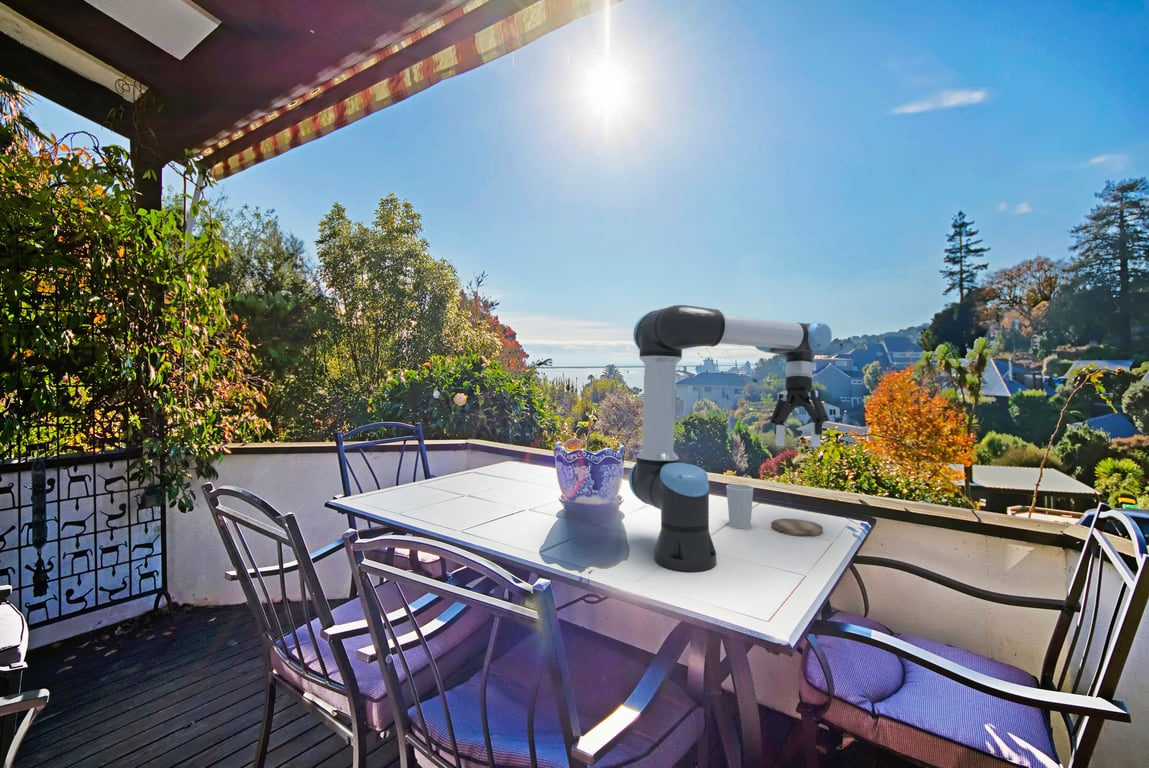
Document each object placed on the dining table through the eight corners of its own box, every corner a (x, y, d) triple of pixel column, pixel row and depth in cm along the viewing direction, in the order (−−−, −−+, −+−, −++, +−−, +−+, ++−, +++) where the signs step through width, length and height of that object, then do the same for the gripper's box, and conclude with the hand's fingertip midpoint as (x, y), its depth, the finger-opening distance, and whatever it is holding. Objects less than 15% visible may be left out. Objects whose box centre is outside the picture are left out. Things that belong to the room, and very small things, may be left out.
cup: (748, 531, 145) (748, 490, 145) (722, 526, 149) (722, 487, 149) (757, 524, 151) (756, 486, 151) (731, 520, 156) (731, 483, 156)
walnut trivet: (792, 538, 137) (792, 533, 137) (761, 524, 151) (761, 520, 151) (833, 534, 141) (833, 529, 141) (800, 520, 154) (800, 516, 154)
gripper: (843, 373, 140) (842, 447, 136) (778, 383, 163) (776, 446, 159) (823, 369, 137) (821, 445, 134) (760, 380, 160) (757, 444, 157)
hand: (796, 446), depth 147 cm, fingers open, 13 cm apart
